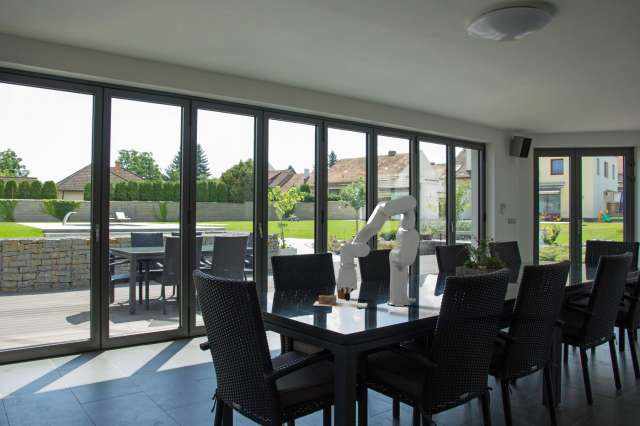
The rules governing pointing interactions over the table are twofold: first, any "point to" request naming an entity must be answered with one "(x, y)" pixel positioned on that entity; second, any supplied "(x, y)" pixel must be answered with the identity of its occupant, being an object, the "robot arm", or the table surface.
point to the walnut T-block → (327, 299)
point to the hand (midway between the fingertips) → (347, 300)
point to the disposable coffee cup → (340, 293)
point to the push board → (343, 304)
